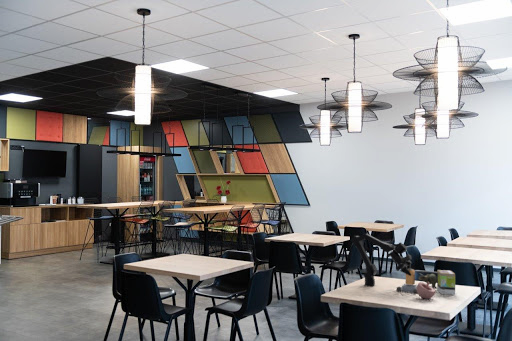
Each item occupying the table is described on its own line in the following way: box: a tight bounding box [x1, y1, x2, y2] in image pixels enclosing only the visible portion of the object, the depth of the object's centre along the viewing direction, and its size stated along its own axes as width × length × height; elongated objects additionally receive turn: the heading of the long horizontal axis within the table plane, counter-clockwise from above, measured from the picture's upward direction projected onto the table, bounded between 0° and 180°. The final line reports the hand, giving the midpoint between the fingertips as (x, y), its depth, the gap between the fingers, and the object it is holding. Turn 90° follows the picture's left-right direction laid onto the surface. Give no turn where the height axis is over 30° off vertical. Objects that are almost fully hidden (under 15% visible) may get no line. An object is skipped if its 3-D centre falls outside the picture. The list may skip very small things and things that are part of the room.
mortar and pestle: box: [416, 281, 436, 300], centre depth 319 cm, size 12×12×11 cm
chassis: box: [396, 283, 418, 294], centre depth 344 cm, size 16×15×4 cm
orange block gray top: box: [405, 268, 416, 285], centre depth 344 cm, size 5×4×11 cm
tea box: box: [436, 269, 456, 296], centre depth 339 cm, size 15×10×15 cm, turn 168°
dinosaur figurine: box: [418, 272, 437, 290], centre depth 355 cm, size 22×8×11 cm, turn 123°
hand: (412, 274), depth 343 cm, fingers closed on orange block gray top, 4 cm apart
